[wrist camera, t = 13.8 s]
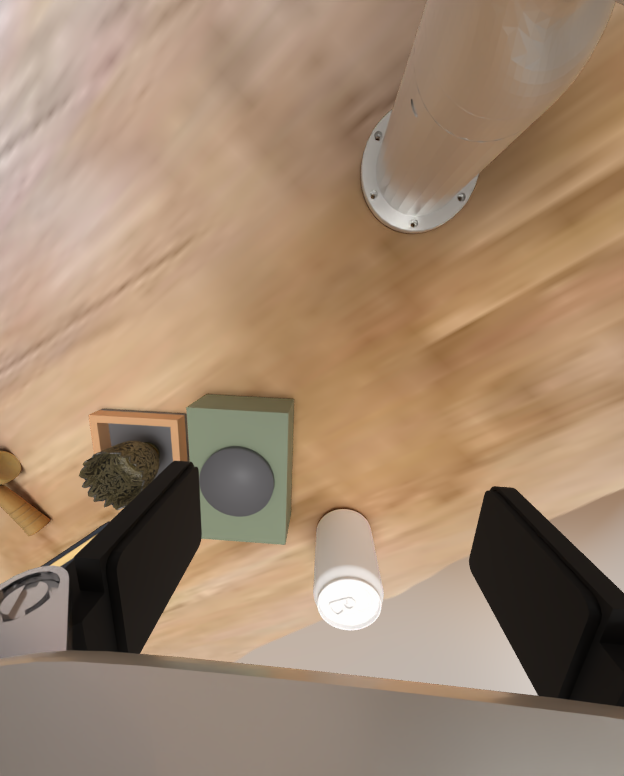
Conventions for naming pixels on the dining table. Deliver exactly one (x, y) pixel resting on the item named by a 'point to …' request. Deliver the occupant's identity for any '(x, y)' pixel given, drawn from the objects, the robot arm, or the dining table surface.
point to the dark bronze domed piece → (121, 472)
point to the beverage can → (346, 571)
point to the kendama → (18, 498)
